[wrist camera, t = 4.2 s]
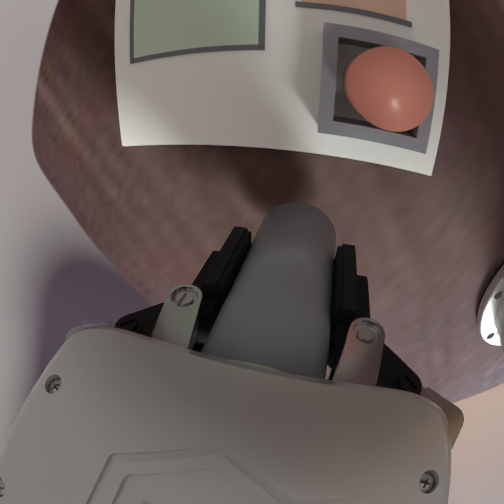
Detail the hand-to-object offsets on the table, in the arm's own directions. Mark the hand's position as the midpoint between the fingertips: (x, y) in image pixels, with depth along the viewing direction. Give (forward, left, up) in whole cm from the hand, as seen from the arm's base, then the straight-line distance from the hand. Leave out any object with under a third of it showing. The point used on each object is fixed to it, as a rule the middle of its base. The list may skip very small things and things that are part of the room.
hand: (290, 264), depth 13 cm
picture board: (+2, -11, -4) cm, 12 cm away
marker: (0, 0, -2) cm, 2 cm away
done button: (-3, -8, -2) cm, 9 cm away
